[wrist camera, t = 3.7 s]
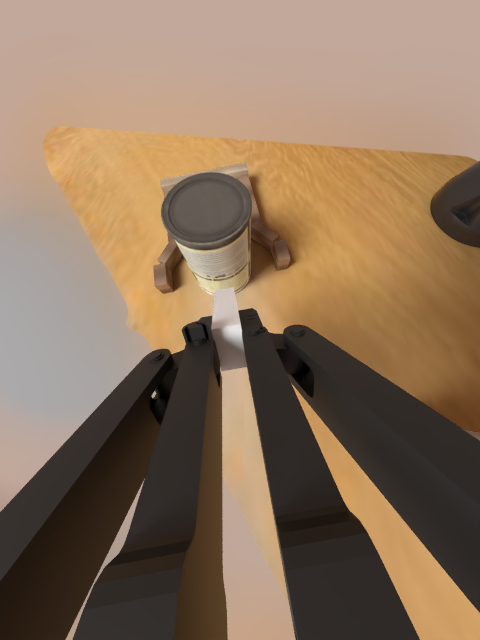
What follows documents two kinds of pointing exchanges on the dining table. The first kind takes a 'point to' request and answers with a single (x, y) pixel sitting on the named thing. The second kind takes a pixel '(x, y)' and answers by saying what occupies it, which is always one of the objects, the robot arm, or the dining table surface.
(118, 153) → the dining table surface
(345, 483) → the dining table surface
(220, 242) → the coffee can
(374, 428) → the robot arm
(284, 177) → the dining table surface
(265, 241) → the brown wooden frame
